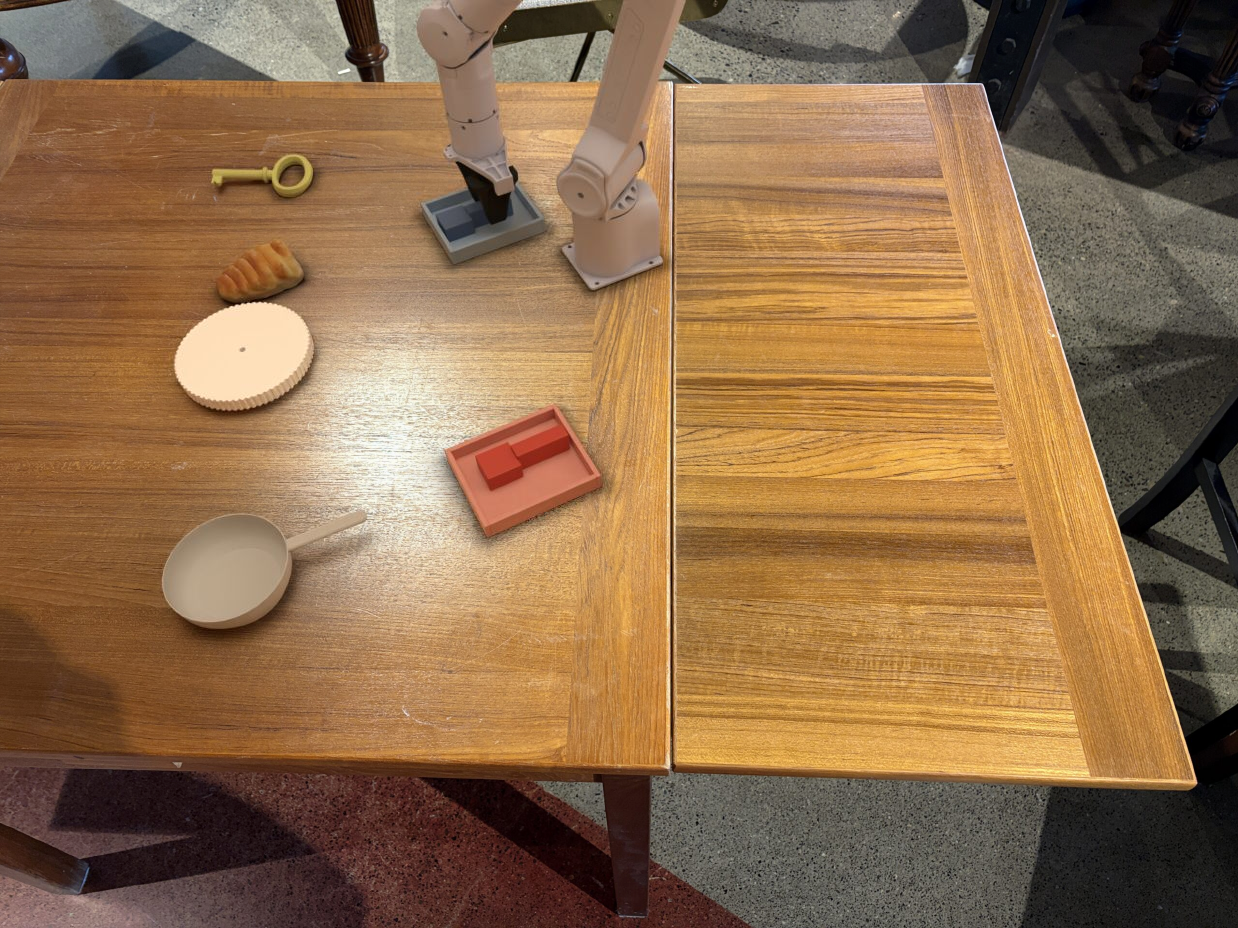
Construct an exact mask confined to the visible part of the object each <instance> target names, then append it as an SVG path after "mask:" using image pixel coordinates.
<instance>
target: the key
mask: <svg viewBox="0 0 1238 928" xmlns="http://www.w3.org/2000/svg"><path fill="white" fill-rule="evenodd" d="M295 165H297V166H298V165H299V166H302V167H303V170H304V176H303V178H302V179H301V181H300V182H298V183H297V184H295V185H293V186H284V185H282V184H280V177H281V176H282V173H283V172H284V170H285V169H286V168H288V167H290V166H295ZM211 175H212V178H211V181H210V185H211V186H212V187H214V186H215V185H216V186H218V187H221V186H222V185H223V182H224V180H247V181H249V180H250V181H252V180H253V181H263V182H264V183H265V184H268V183H269V182H270V181H271V184H272V186H273V188H274V190H275V192H276V193H277V194H278V195H279V196H281V197H285V198H294V197H298V196H300V195H302V194H303V193H304V192H305V191H306V190H307V189H308V188H309V186H310V185H311V184H312V183H311V182H312V180H313V176H314V169H313V166H312V164H311V163H310V161H309V160H308V159H307V158H306V157H305V156H303V155H301V154H296V153H295V154H294V153H291V154H287V155H284V156H282V157H281V158H280V159H278V160H277V161H276V162H275V164H274V166H273V168H272V169H269V167H267V166H263V167H262V169H234V168H233V169H229V168H228V169H226V168H223V169H222V168H212V169H211Z"/></svg>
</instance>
